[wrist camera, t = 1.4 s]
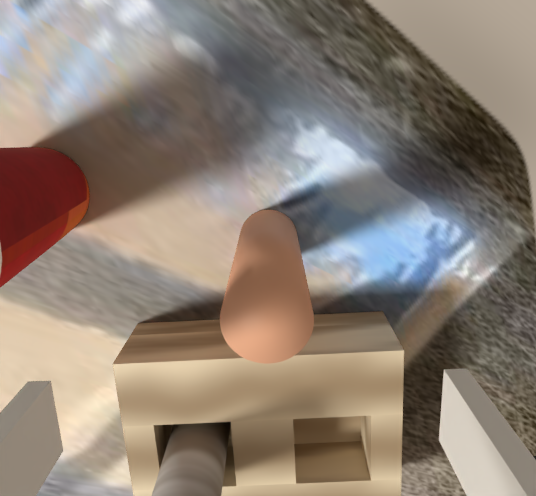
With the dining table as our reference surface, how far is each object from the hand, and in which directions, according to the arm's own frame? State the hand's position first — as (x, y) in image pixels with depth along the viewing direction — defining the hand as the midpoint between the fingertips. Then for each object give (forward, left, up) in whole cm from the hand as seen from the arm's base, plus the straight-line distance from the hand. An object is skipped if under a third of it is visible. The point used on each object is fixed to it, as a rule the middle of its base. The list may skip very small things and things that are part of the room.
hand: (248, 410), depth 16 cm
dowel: (-1, +1, -19) cm, 19 cm away
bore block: (+12, 0, -19) cm, 22 cm away
